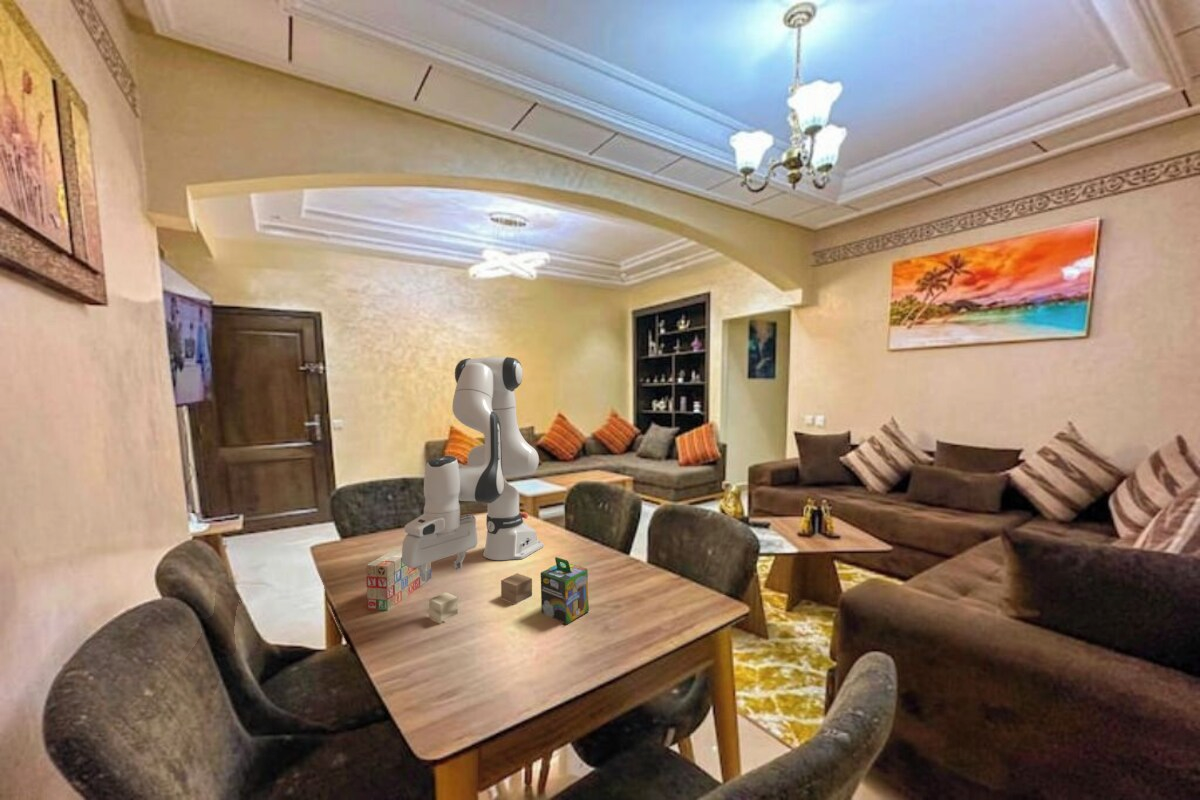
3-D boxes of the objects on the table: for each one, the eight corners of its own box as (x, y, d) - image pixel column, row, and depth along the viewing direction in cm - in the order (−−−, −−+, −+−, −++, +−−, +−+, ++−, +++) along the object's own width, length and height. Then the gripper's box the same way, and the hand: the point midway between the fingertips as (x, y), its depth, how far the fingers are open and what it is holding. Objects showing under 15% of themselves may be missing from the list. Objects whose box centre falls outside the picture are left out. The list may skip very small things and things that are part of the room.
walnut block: (517, 590, 131) (517, 573, 131) (532, 595, 128) (531, 578, 128) (501, 598, 127) (501, 580, 126) (516, 604, 123) (516, 585, 123)
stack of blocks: (413, 577, 143) (412, 538, 143) (431, 578, 142) (431, 539, 141) (366, 609, 122) (365, 564, 122) (387, 611, 121) (387, 565, 120)
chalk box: (589, 611, 120) (589, 556, 120) (565, 626, 113) (565, 567, 112) (563, 601, 126) (563, 548, 125) (539, 614, 119) (539, 558, 118)
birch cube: (446, 610, 121) (445, 592, 121) (457, 616, 118) (457, 597, 118) (429, 618, 117) (429, 599, 117) (440, 624, 114) (440, 604, 114)
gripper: (467, 510, 127) (467, 559, 127) (398, 527, 110) (398, 584, 110) (482, 514, 123) (482, 564, 123) (412, 531, 107) (412, 590, 107)
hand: (442, 574), depth 117 cm, fingers open, 8 cm apart
